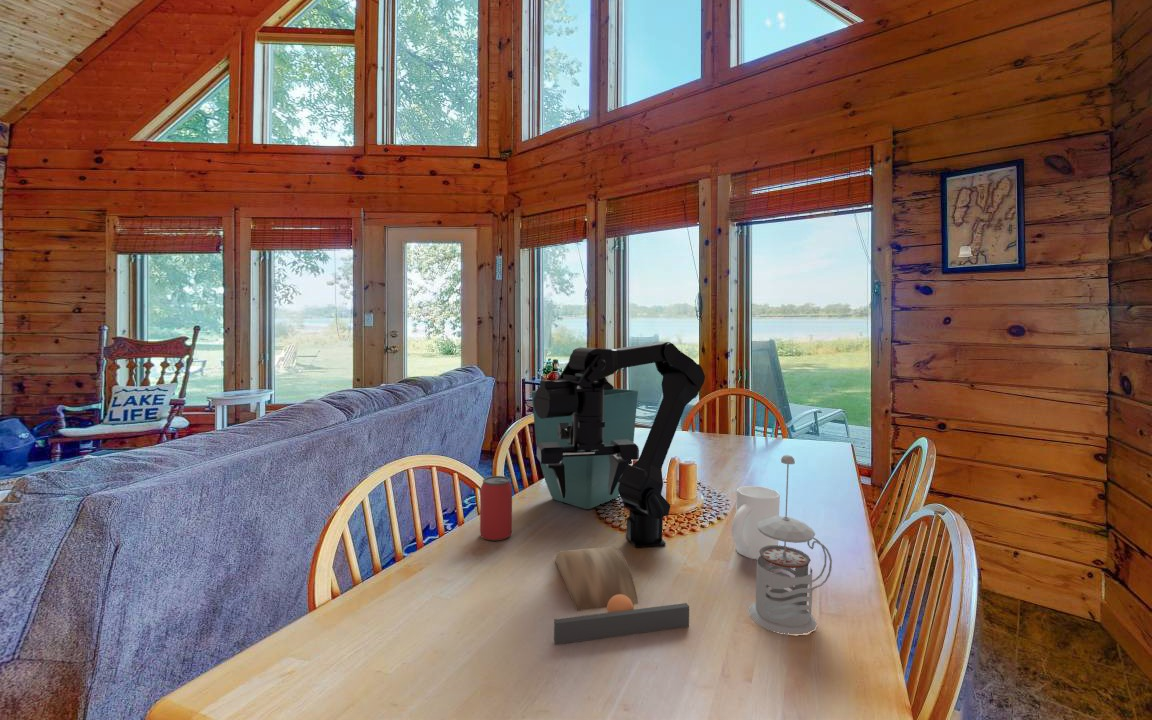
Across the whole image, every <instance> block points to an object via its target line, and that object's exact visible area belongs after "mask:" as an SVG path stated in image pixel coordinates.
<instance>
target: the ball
mask: <svg viewBox="0 0 1152 720" xmlns="http://www.w3.org/2000/svg"><path fill="white" fill-rule="evenodd" d="M634 609H635V608H634V604H633V603H632V601H631V600H630V599H629V598H628V597H627V596H625V595H622V594H618V595H615V596H613V597H612V598H611V599H610V600H609V602H608V604H607V607H606V613H610V612H618V611H626V610H634Z"/></svg>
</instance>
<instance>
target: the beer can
mask: <svg viewBox="0 0 1152 720" xmlns="http://www.w3.org/2000/svg"><path fill="white" fill-rule="evenodd" d="M510 481H511V480H510V477H508V476H502V475H492V476H487V477H485V478H483V480H482V484H481V486H480V490H479V491H480V495H479V497H480V498H479V499H480V501H479V502H480V506H479V507H480V508H479V511H480V512H479V513H480V514H479V515H480V516H479V521H480V523H479V524H480V526H479V528H480V529H479V534H480V536H481V538H482V539H484V540H487V541H493V542H497V541H498V542H499V541H503V540H506V539H508V538H509V537H510V536H511V535H512V532H513V530H512V529H513V527H512V526H513V488H512V485H511V482H510Z"/></svg>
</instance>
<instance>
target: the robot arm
mask: <svg viewBox="0 0 1152 720" xmlns="http://www.w3.org/2000/svg"><path fill="white" fill-rule="evenodd" d="M649 364H654V365H655V367H656V370H657V372H658V373H659V374H660V375H661V376H662V380H661V391H662V400H661V402H660V405H659V408H658V409H657V412H656V415H655V418H654V420H653V423H652V425H651V428H650V429H649V433H648V436H647V438H646V440H645V442H644V445H643V448H642V450H641V453H640V449H639V446H638V444H636V443H635V442H632V441H630V440H628V439H623V440H612V441H611V443H610V445H604V443H603V427H605V422H604V421H603V411H604V390H613V389H615V387H614V386H613V385H612V383H610V382H609V381H608V380H607V377H609V376H612V375H614V374H615V373H616V372H617V371H619V370H622V369H626V368H631V367H638V366H643V365H649ZM705 380H706V375H705V373H704V369H703V367H702V366H701V365H700V364H698V363H697V362H695V360H694V359H693V358H691V357H690V356H689V355H687V354H685V353H684V352H682V351H681V350H680V349H679V348H678V347H677V345H675V344H674V343H672V342H670V341H654V342H651V343H645V344H639V345H632V346H625V347H618V348H612V349H611V348H600V347H599V348H598V347H578V348H577V347H576V348H575V349H573V350H572V352H571V354H570V356H569V360H568V362H567V363H566V365H565V367H564V368H563V370H562V372H561V373H560V375H559V376H558V378H557V380H549V379H541V380H540V381H539V386H538V388H537V389H536V390H535V391H536V394H535V397H534V408H535V412H536V414H537V415H538V417H539V418H541V419H544V418H555V417H565V416H571V415H572V414H573V417H572V425H571V426H569V423H568V422H562V423H559V424H558V438H559V439H567V440H568V444H570V445H573V446H571V447H561V445H560V444H559V443H558V442H544V443H539V445H538V446H537V445H536V458H537V460H538V461H539V463H540V462H541V463H542V464H546V465H547V467H548V468H552V469H553V471H554V474H555V476H556V479H557V482H558V486H559V489H560V492H561V495H562V497H563V498H565V493H566V488H565V468H564V464H563V463H562V462H561V460H562V459H563V457H575V456H597V455H609V460H610V471H609V483H608V493H609V495H612V494H613V492H614V489H615V487H616V485H617V483H618V482H619V483H620V484H619V487H618V492H619V497H620V499H621V500H622V502H623V506H624V508H626V509H629V510H628V512H629V513H628V515H629V516H628V517H627V518H626V533H625V536H626V538H627V539H628V540H629V542H631V544H632V545H633V546H634V547H635V548H650V547H659V546H666V543H667V542H666V541H665V540H664V539H663V525H664V524H663V523H664V522H663V521H664V520H663V519H664V517H667V516H669V514H670V510H671V504H670V503H669V502H668V500H666V498H665V497H664V495H662V490H663V486H664V481H663V473H662V468H663V465H664V463H665V460H666V457H667V455H668V453H669V450H670V447H671V445H672V442H673V439H674V437H675V435H676V431H677V429H678V426H679V424H680V420H681V419H682V415H683V413H684V411H685V408H686V406H687V405H688V404H689V403H690V402H692V401H693V400H694V399H695V398H696V397H697V396H698V395H699V393H700V392H701V389H702V387H703V385H704V383H705ZM577 386H579V387H577ZM578 450H581V452H580V451H579V452H578ZM591 450H598V451H591ZM582 451H583V452H582ZM636 460H637V461H636ZM633 461H635V462H634V463H633ZM621 475H622V476H621ZM620 477H621V478H620Z"/></svg>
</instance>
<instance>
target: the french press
mask: <svg viewBox="0 0 1152 720" xmlns="http://www.w3.org/2000/svg"><path fill="white" fill-rule="evenodd" d="M780 461H781V462H780V463H782V464H785V465H786V466H787V467H786V488H785V489H786V490H785V492H786V493H785V494H786V495H785V516H780V515H779V516H775V517H771V518H768V519H764V520H762V521H760V522H759V523H758V524H757V526H758V529H759V531H760V532H761V533H762V534H764V535H765V536H767V537H770V538H772V539H775V540H778V542H779V541H780V542H784V545H780V544H778V545H777V546H776V545H771V546H770V545H769V546H766V547H763V548H761V549H760V551H759V552H760V555H761V556H760V557H759V558H758V560H757V559H756V579H755V580H756V583H755V584H756V586H755V587H756V588H755V601H754V602H753V603H751V605H750V606H749V608H748V609H749V610H748V614H749V617H750V618H751V619H752V621H754V623H755V622H756V625H758V624H759V625H758V626H760V627H762V628H763V629H765V628H766V629H765V630H766V631H769V630H771V631H770V632H772V631H775V632H779V633H783V634H784V633H785V634H788V633H789V634H803V633H808V632H810V631H812V630H814V629H815V627H816V625H817V624H818V622H817V620H816V621H815V619H816V618H815V617H814V615H813V614H812V607H813V606H812V601H813V591H815V589H817V588H821V586H823V585H824V584H825V583H826V582H827V581H828V579H829V577H830V575H831V573H832V569H833V568H832V566H833V565H832V564H833V560H832V555H831V552H830V551H829V550H828V548H827V547H826V546H825V545H824V544H822V543H821V541H819V540H818V539H817V538H815V535H816V533H815V531H814V529H813V528H812V527H810V526H809V525H807V524H806V523H805V522H803V521H801V520H798V519H796V518H793V517H791V516H788V495H789V494H788V493H789V491H788V490H789V465H794V464H795V458H794V457H793V456H792V455H788V454H785V455H783V456H781V458H780ZM812 540H814V541H812ZM811 541H812V543H811V545H810V542H811ZM787 543H793V544H796V543H800V544H801V543H807V546H808V548H810V549H811V550H814V546H815V544H818V545H820V546H821V549H822V552H823V554H824V564H823V566H822V567H823V568H822V569H821V572H820V574H819V575H818V576H817V577H816V578H814V579H813V569H812V566H811V567H810V571H809V564H810V562H811V558H810V556H809V555H808V554H807V553H806V552H804V551H802V550H801V549H796V548H794V547H790V546H787ZM827 556H828V557H827ZM827 558H829V559H828V560H829V567H828V572H827V575H826V577H825V579H824V580H823V581H821V583H820V584H818V585H816V586H813V585H812V584H813V583H814V582H816V581H818V580H819V579H820V578H821V577H822V576H823V574H824V572H825V570H826V567H827ZM770 564H772V566H770V567H767V568H766V569H765V567H766V566H768V565H770ZM781 569H782V570H784V571H786V572H789V573H790V574H791V575H793V576H794V577H793V576H791V575H789V574H786V573H785V572H782V571H779V572H772V571H773V570H781ZM794 569H795V570H794ZM809 572H810V573H809ZM768 588H771V589H768ZM788 589H790V590H788ZM808 594H809V595H808ZM807 602H808V603H807ZM816 622H817V623H816ZM775 632H774V633H775Z"/></svg>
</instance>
